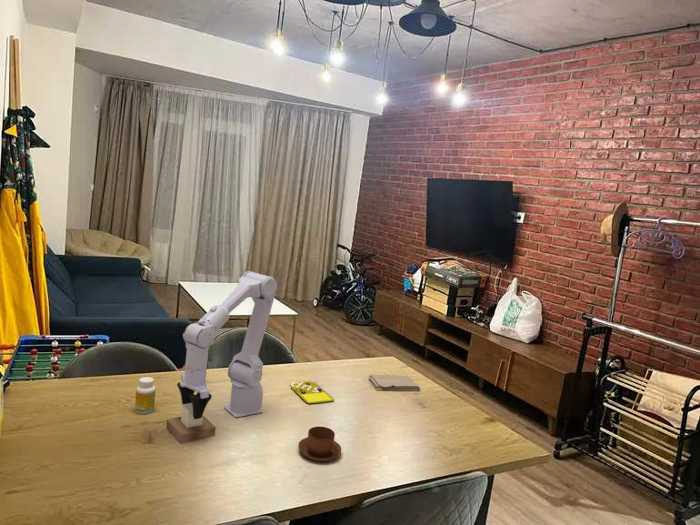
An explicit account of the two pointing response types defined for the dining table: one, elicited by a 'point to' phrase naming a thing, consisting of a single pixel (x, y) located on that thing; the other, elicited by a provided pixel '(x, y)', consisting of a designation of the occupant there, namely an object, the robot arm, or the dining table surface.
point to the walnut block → (190, 430)
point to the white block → (189, 416)
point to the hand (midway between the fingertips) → (192, 412)
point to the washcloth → (393, 383)
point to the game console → (311, 393)
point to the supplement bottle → (145, 396)
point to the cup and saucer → (320, 444)
